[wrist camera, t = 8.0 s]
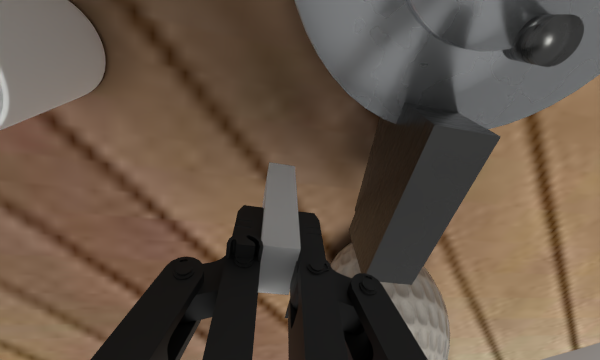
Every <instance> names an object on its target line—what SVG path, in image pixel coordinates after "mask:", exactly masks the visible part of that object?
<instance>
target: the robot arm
mask: <svg viewBox="0 0 600 360" xmlns="http://www.w3.org/2000/svg"><path fill="white" fill-rule="evenodd" d="M289 290H290V301H289V304H288V308H287V311H286V316H285V318H288V338H289V360H428V359H427V357H426V356H425V354H424V352H423V351H422V349H421V347H420V346H419V344H418V343H417V341H416V339H415V338H414V336H413V334H412V333H411V331H410V329H409V328H408V326H407V325H406V323H405V321H404V320H403V318H402V316H401V315H400V313H399V311H398V310H397V308H396V307H395V305H394V303H393V302H392V300H391V298H390V297H389V295H388V293H387V292H386V290H385V289H384V287H383V285H382V284H381V283H380V282H379V280H378V279H376V278H375V277H373V276H372V275H369V274H366V273H359V274H356V275H354V276H353V278H350V277H347V276H345V275H342V274H340V273H338V272H336V271H335V270H333V269H332V268H331V265H330V263H329V262H328V261H327V260H326V258H325V252H324V246H323V240H322V236H321V230H320V222H319V220H318V218H317V217H316V215H315V214H314V213H306V212H298V203H297V189H296V175H295V166H290V165H283V164H277V163H270V162H269V167H268V173H267V180H266V186H265V192H264V199H263V207H254V206H246V205H244V206H243V207H242V208H241V209H240V210H239V211H238V214H237V218H236V222H235V227H234V231H233V236H232V237H231V238H229V240H228V242H227V250H226V256H224V257H223V258H222V259H220V260H218V261H215V262H211V263H205V264H202V263H201V262H200V261H199V260H197V259H195V258H193V257H181V258H177V259H175V260H173V261H171V262H170V263H169V264H168V265H167V266H166V267H165V268H164V269H163V271H162V272H161V273H160V274H159V276H158V277H157V278H156V279H155V280H154V282H153V283H152V284H151V285H150V287H149V288H148V289H147V290H146V292H145V293H144V294H143V295H142V297H141V298H140V299H139V300H138V302H137V303H136V304H135V305H134V307H133V308H132V309H131V310H130V311H129V313H128V314H127V315H126V316H125V318H124V319H123V320H122V321H121V323H120V324H119V325H118V326H117V328H116V329H115V330H114V331H113V333H112V334H111V335H110V336H109V338H108V339H107V340H106V341H105V342H104V344H103V345H102V346H101V347H100V349H99V350H98V351H97V352H96V354H95V355H94V356H93V357H92V359H91V360H180V358H181V356H182V355H183V353H184V351H185V349H186V347H187V345H188V343H189V342H190V340H191V338H192V336H193V334H194V332H195V330H196V329H197V327H198V325H199V323H200V321H201V319H205V318H209V317H212V321H211V325H210V329H209V334H208V338H207V342H206V347H205V351H204V355H203V360H252V354H253V343H254V331H255V320H256V309H257V297H258V292H261V293H273V294H285V295H288V294H289Z"/></svg>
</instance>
